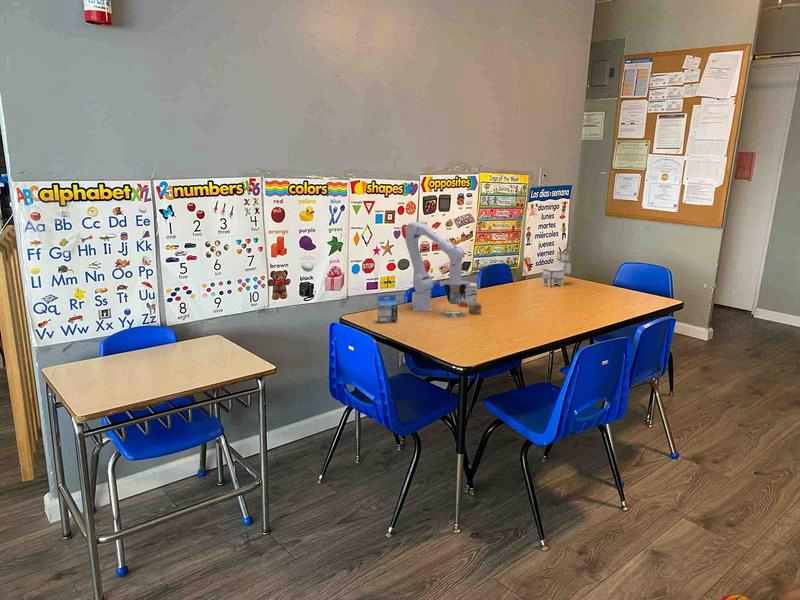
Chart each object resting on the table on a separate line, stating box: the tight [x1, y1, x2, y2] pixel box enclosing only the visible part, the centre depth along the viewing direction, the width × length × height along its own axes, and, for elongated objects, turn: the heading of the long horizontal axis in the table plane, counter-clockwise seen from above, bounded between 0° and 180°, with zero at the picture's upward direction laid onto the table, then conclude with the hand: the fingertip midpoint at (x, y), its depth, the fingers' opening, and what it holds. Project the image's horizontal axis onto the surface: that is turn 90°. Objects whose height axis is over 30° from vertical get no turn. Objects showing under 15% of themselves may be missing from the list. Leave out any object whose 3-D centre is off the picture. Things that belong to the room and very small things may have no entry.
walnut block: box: [468, 302, 482, 316], centre depth 295 cm, size 5×5×5 cm
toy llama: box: [541, 250, 573, 286], centre depth 361 cm, size 8×18×20 cm, turn 117°
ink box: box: [457, 282, 478, 308], centre depth 308 cm, size 8×5×12 cm, turn 99°
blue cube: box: [448, 291, 461, 305], centre depth 290 cm, size 5×5×5 cm
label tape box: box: [377, 294, 399, 323], centre depth 277 cm, size 9×4×12 cm, turn 105°
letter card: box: [441, 311, 466, 318], centre depth 293 cm, size 10×10×1 cm
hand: (454, 300), depth 291 cm, fingers closed on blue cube, 5 cm apart
